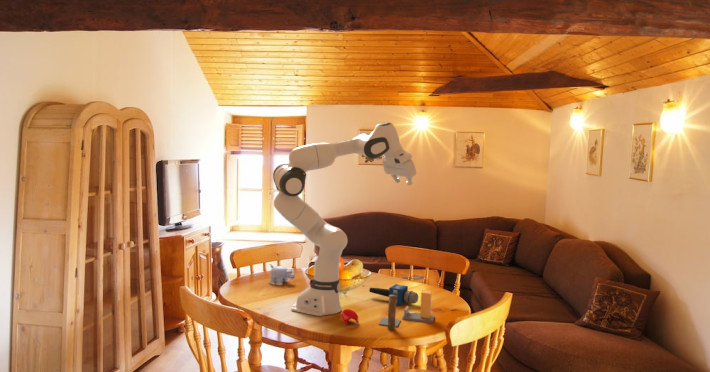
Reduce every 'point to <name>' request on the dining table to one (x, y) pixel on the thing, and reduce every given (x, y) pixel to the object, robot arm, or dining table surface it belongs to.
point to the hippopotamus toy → (280, 275)
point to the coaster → (385, 322)
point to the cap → (349, 315)
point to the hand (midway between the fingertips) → (403, 183)
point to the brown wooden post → (391, 312)
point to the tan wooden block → (425, 304)
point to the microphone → (398, 294)
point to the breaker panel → (416, 316)
